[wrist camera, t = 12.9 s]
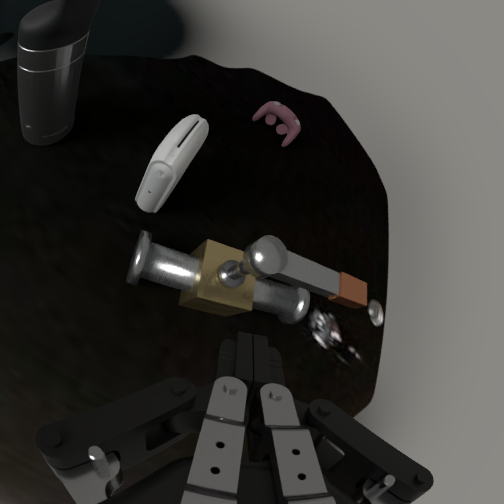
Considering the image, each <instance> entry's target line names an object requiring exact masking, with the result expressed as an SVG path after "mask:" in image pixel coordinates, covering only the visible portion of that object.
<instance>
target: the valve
mask: <svg viewBox="0 0 504 504" xmlns="http://www.w3.org/2000/svg"><path fill="white" fill-rule="evenodd" d="M151 239H152V233H149V232H147V231H144V230H142V231H141V233H140V235H139V238H138V240H137V243H136V246H135V249H134V252H133V255H132V259H131V262H130V266H129V270H128V275H127V283H130V284H134V285H137V284H138V282H139V280H140V278H143V279H146V280H149V281H153V282H156V283H160V284H163V285H166V286H170V287H173V288H177V289H180V290H181V295H180V301H179V305H181V306H185V307H189V308H193V309H197V310H201V311H205V312H209V313H213V314H217V315H221V316H226V317H227V316H231V315H235V314H240V313H244V312H248V311H252V308H253V309H257V310H261V311H265V312H269V313H274V314H277V316H278V318H279V319H280V321H282V322H283V323H288V324H296V323H298V322H300V321H301V320H302V319H303V318H304V316H305V315H306V313H307V311H308V308H309V303H310V293H309V291H308V290H306V289H303V288H300V287H297V286H294V285H292V284H289V283H287V284H286V285H284V284H280V283H277V282H274V281H271V280H267V279H264V278H262V279H260V278H256V277H254V276H252V275H251V274H250V273H249V272H248V271H247V270H246V268H245V266H244V263H243V253H244V252H243V251H240V250H237V249H235V248H232V247H229V246H226V245H223V244H220V243H217V242H215V241H212V240H209V239H207V240H206V241H205V242H204V243H202V244H201V245H200V246H199V247H198V248H197V249H196V250H194V251H193V252H192V253H191V254H190V255H189V254H186V253H183V252H180V251H176V250H173V249H170V248H167V247H164V246H161V245H158V244H155V243H152V242H151Z"/></svg>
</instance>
